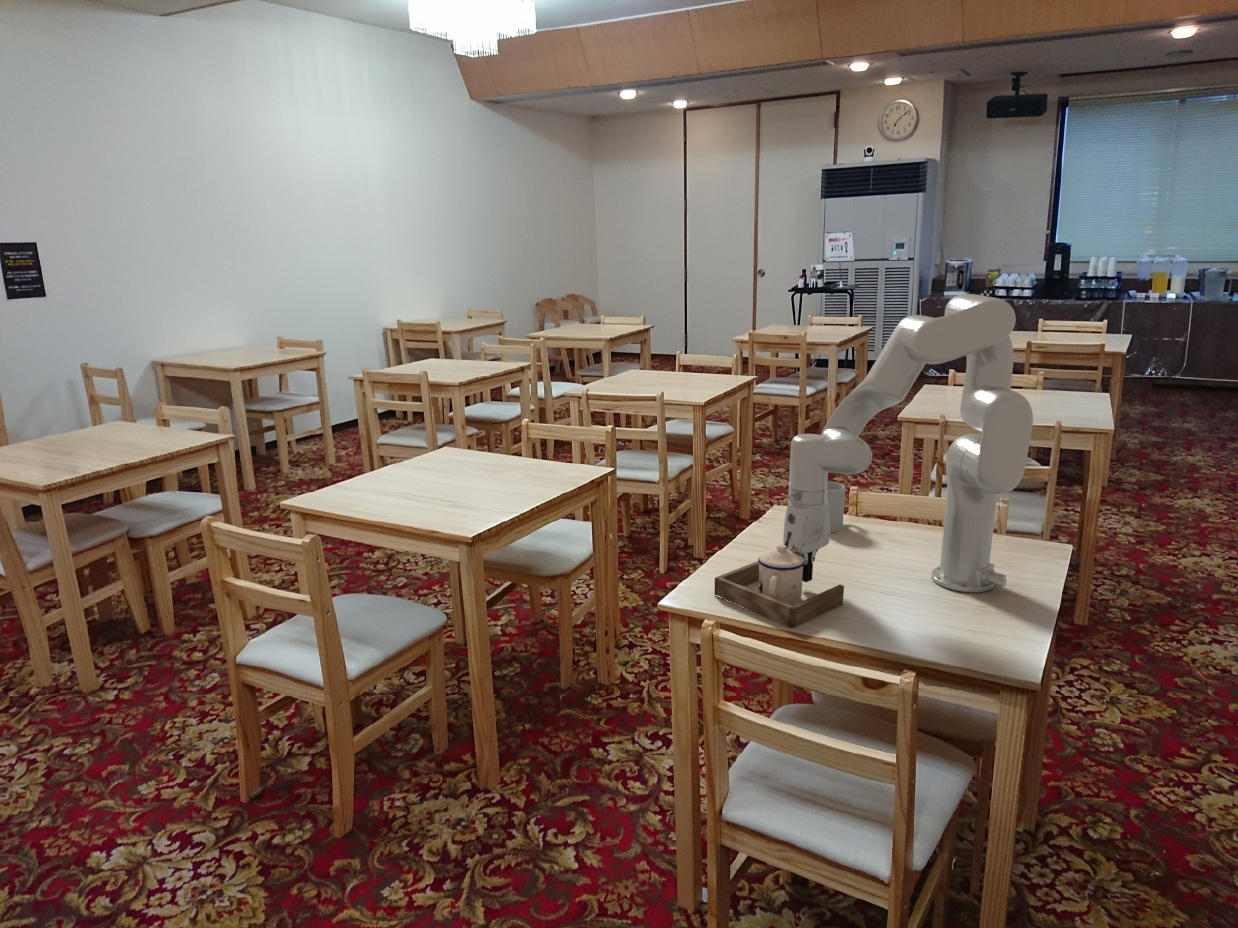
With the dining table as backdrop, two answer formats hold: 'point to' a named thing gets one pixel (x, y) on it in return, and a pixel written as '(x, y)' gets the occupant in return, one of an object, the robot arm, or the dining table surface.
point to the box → (788, 615)
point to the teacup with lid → (781, 574)
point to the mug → (836, 505)
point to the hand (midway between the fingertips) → (803, 579)
